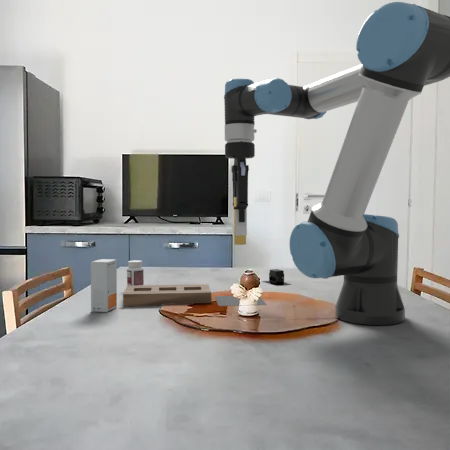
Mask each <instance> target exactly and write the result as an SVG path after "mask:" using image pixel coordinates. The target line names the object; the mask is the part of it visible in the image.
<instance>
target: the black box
mask: <svg viewBox="0 0 450 450" xmlns="http://www.w3.org/2000/svg"><path fill="white" fill-rule="evenodd" d="M261 282H263V283H265V284H269V285H273V286H277V287H282V286H291V285H292V283H288V282H285V273H284V270H283V269H278V268H275V269H269V274H268V280H263V281H261Z"/></svg>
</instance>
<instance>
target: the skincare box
mask: <svg viewBox="0 0 450 450" xmlns="http://www.w3.org/2000/svg"><path fill="white" fill-rule="evenodd" d="M117 265H118V264H117V259H112V258H108V259H107V258H101V259H96V260H94V261H91V262H90V312H93V313H95V312H96V313H108V312H110V311H111V310H114V309H116V308H117V307H118V305H117V303H118V299H117V297H118V293H117V292H118V290H117V287H118V283H117V281H118V279H117V278H118V277H117V275H118V274H117V272H118V271H117V270H118V269H117V267H118V266H117Z"/></svg>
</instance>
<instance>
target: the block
mask: <svg viewBox="0 0 450 450" xmlns="http://www.w3.org/2000/svg"><path fill="white" fill-rule="evenodd" d="M170 303H177V304H212V291H211V288H210V285H209V284H208V283H201V284H198V283H197V284H195V283H193V284H191V283H190V284H151V285H150V284H146V285H145V284H144V285H135V286H127V285H126V287H125V290H124V291H123V293H122V304H123V305H122V306H123V307H134V306H135V307H139V306H141V307H142V306H149V307H150V306H162V305H168V304H170ZM170 305H171V304H170Z"/></svg>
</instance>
